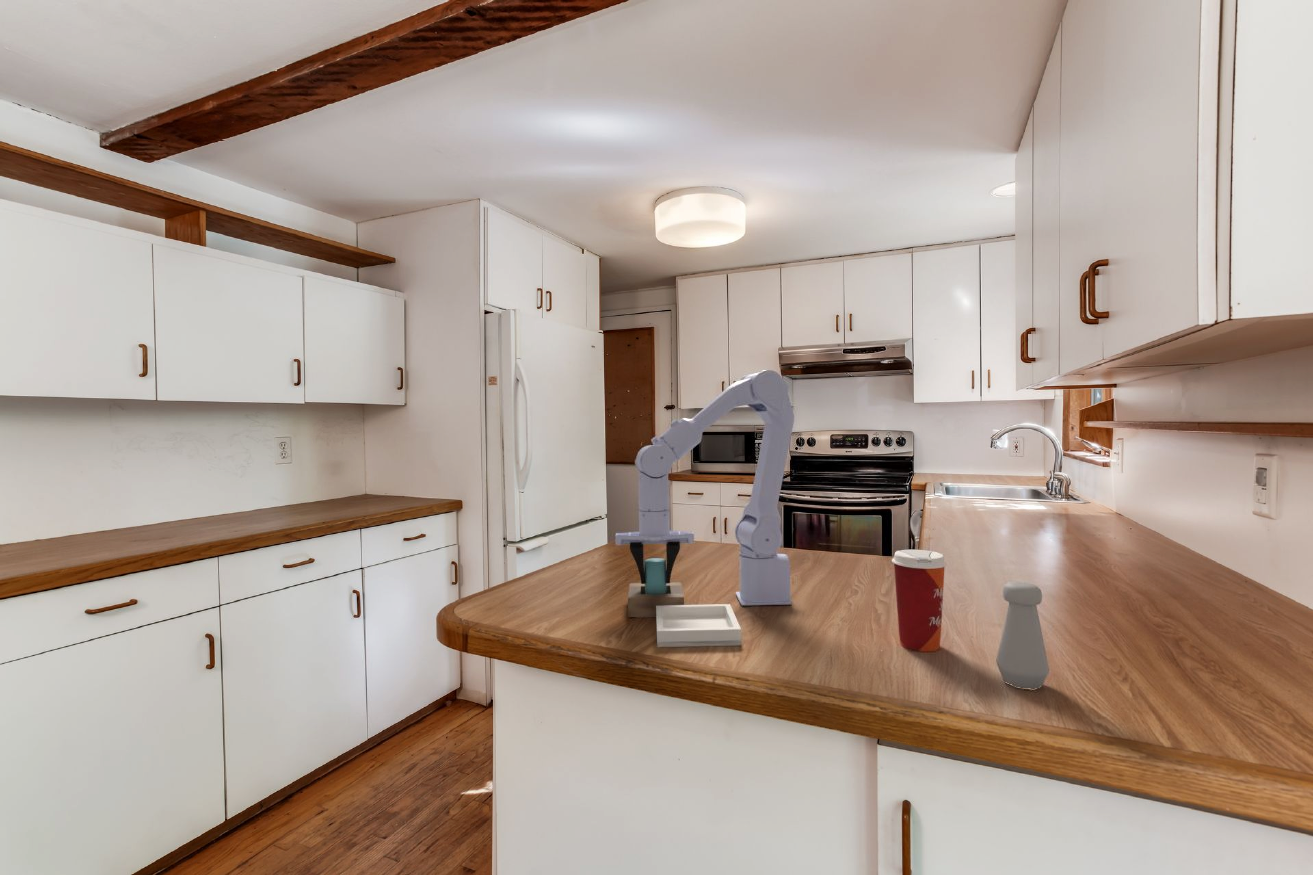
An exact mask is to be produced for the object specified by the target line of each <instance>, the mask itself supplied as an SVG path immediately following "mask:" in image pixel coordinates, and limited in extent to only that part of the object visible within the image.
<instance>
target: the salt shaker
mask: <svg viewBox="0 0 1313 875" xmlns="http://www.w3.org/2000/svg"><path fill="white" fill-rule="evenodd" d="M1002 596H1003V599H1004V600H1005V601H1006V602H1007V603H1008V606H1007V612H1006V615H1005V619H1004V624H1003V629H1002V633H1001V637H1000V642H999V646H998V650H997V655H996V660H995V663H996V666H997V668H998V670H999V672H1000V675H1001V677H1002V679H1003V681H1004V683H1005V682H1007V683H1009V684H1012V685H1013V686H1016V687H1020V688H1031V689H1035V688H1039V687H1040V686H1042V687H1043V684H1044V683H1045V681H1046V679H1047V678H1048V675H1049V672H1050V667H1049V662H1048V657H1047V651H1046V646H1045V641H1044V637H1043V636H1044V635H1043V632H1042V627H1041V626H1042V625H1041V621H1040V616H1039V611H1038V606H1039V605H1040V604H1041V603H1042V601H1043V593H1042V590H1041V589H1040V587H1039V586H1037V585H1036V584H1034V583H1031V582H1026V581H1009V582H1006V583H1005V584H1004V585H1003V586H1002ZM1013 686H1012V687H1013ZM1039 689H1040V688H1039Z"/></svg>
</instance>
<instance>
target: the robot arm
mask: <svg viewBox="0 0 1313 875" xmlns="http://www.w3.org/2000/svg"><path fill="white" fill-rule="evenodd" d="M789 389H790V386H789V384H788V383H787V382H786V380H785V379H784V378H783V376H781V375H780V374H779V372H777V371H775V370H773V369H772V370H771V369H766V370H764V369H763V370H762V371H760V372H757V373H748V374H746V375H744V376H742V377H741V378H740V379H739V380H737V381H734V382H733V383H732V384H730V385H729V386H728V387H726V388H724V390H723V391H722V392H720V393H719V394H718V395H717V396H716V397H715V398H714V399H712V400H711V401H710V402H709V403H708V404H706V406H705V407H703V408H702V409H701V410H700V411H699V412H698V413H697V414H695V415H694V416H693V417H691V418H685V417H683V418H680V419H679V420H678V419H674V420H673V421H671V422H670V423H669V424H670V425H671V426H670V427H669V428H668V429H666V430H665V431H664V432H663V433H662V434H660V435H659V436H658V437H657V436H654V437H652V438H651V440H650V441H651V443H652V445H651V444H650V445H645V446H644V447H641V449H640V450H639V451H638V452H637V455H636V458H635V459H634V465H635V468H636V470H637V471H638V489H637V490H638V527H639V528H638V530H639V531H630V532H616V533H615V535H614V536H615V546H622V545H629V550H630V551H629V552H630V553H631V555H632V557H633V560H634V561H635V564H636V567H637V570H638V573H639V574H638V575H639V578H640V583H641V584H645V566H644V561H645V559H644V557H645V556H644V555H645V554H644V553H645V552H644V545H652V544H657V545H658V544H663V545H664V544H665V548H666V549H665V550H666V551H665V552H666V556H665V557H666V583H671V577H672V572H673V568H674V564H675V561H676V559H677V557H678V555H679V552H680V550H681V544H688V545H691V544H692V545H693V544H695V533H694V532H693V531H682V530H681V531H679V530H678V531H677V530H671V529H670V528H671V527H670V526H671V523H670V522H671V521H670V485H669V473H670V472H671V471H672V468H673V464H674V463H676V462H678V461H679V460H681V459H682V458H683V457H684V456H686V455H687V454H688V453H689V452H690V451H691V450H693V449H694V448H695V447H696V446H697V445H699V444H700V443H701V442H702V438H703V433H704V431H706V430H707V429H708V428H709V427H712V425H713V424H715V423H716V422H718V421H719V420H721V419H722V418H723V417H724V416H726V415H727V414H728V413H729V412H730V411H732V410H734V409H735V408H737V407H743V406H747V407H749V408H750V409H752V410H754V412H756V413H757V415H758V416H759V418H760V419H761V420H762V422H764V428H763V432H762V438H761V442H760V448H759V454H758V460H757V463H756V469H755V475H754V478H753V485H752V490H751V494H750V500H749V501H748V504H747V505H746V506H745V507H744V508H743V511H742V516H741V518H740V520H739V521H738V522H737V524H736V526H735V529H734V536H735V539H736V541H737V542H738V543H739V545H740V549H739V591H735V596H736V597H737V599H738V601H739V603H740V605H741V606H773V605H774V606H778V605H779V606H781V605H792V601H791V599H792V598H791V594H792V593H791V566H790V565H791V564H790V560H789V556H788V555H787V554H785V553H778V552H779V550H780V549H781V547H782V545H783V535H782V531H781V524H782V517H781V515H780V512H779V508H778V504H779V498H780V494H781V489H782V484H783V479H784V474H785V468H786V463H787V458H788V455H789V454H788V453H789V449H790V443H791V438H792V433H793V428H794V423H795V414H794V411H793V410H794V409H793V407H792V403H791V401H790V396H789Z"/></svg>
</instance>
